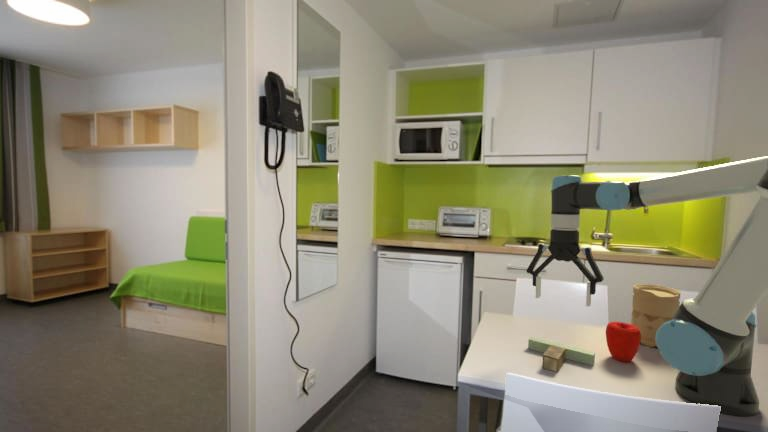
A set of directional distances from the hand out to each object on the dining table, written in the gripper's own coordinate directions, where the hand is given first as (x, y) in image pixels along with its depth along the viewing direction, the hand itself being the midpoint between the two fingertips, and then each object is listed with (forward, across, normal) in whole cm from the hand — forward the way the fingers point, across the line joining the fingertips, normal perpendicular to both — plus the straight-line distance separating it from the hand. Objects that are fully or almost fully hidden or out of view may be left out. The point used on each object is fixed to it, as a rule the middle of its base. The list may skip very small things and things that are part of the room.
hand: (562, 301), depth 109 cm
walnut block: (+16, +1, 0) cm, 16 cm away
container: (+18, -21, -34) cm, 44 cm away
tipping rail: (+17, +1, -2) cm, 17 cm away
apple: (+18, -14, -12) cm, 26 cm away
